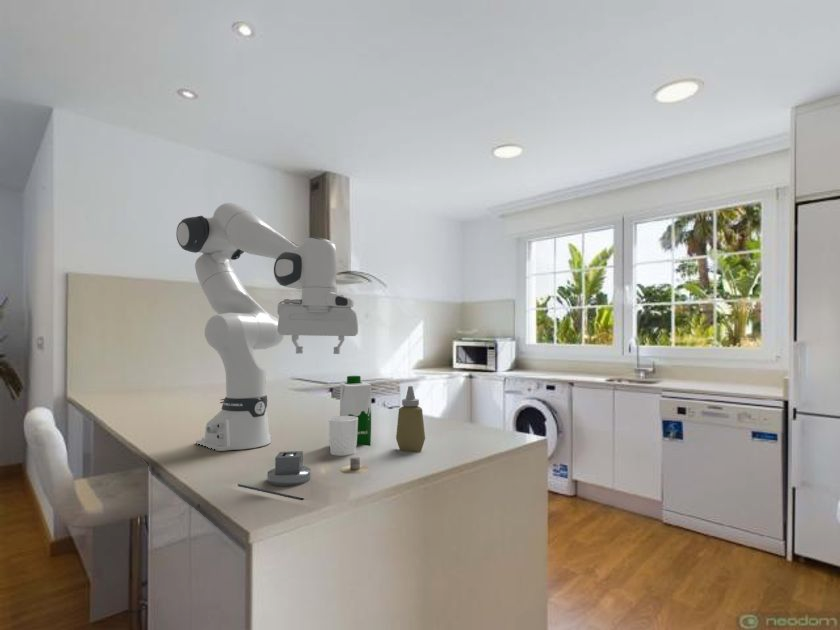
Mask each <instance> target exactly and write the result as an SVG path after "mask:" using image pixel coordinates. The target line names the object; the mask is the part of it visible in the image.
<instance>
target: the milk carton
mask: <svg viewBox="0 0 840 630" xmlns="http://www.w3.org/2000/svg"><path fill="white" fill-rule="evenodd" d="M339 384H340V385H339V386H340V387H339V392H340V393H339V416H355V417H358V432H357V445H356V446H360V445H362V446H368V447H371V445H372V444H371V442H372V441H371V440H372V389H373V388H372V384H370V383H369V382H364V381H361V375H347V376H346V382H341V383H339Z"/></svg>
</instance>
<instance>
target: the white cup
mask: <svg viewBox="0 0 840 630" xmlns="http://www.w3.org/2000/svg"><path fill="white" fill-rule="evenodd" d="M327 421H328V438H329V440H328V441H329V449H330V451H329V452H330V454H331V456H332V455H333V456H351V455H354V454H356V453H357V446H358V445H357V432H358V417H355V416H340V415H337V416H331V417H329V418H328V420H327Z"/></svg>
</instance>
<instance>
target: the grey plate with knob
mask: <svg viewBox="0 0 840 630" xmlns="http://www.w3.org/2000/svg"><path fill="white" fill-rule="evenodd" d="M285 456H294V454H286V455H285ZM311 475H312V474H311V468H310V467H309V466H306V465H303V468H302V470H301V472H300V474H290V475H275V467H274V468H272V469H270V470H269V471H267V474H266V476H267V477H266V479H267V482H266V483H267V484H268V485H269V486H271V487H276V488H279V487H281V488H287V487H295V486H299V485H301V486H302V485H304V484H306V483H308V482H309V481H311ZM237 487H240V488H243V489H249V490H252V491H253V490H254V491H257V492H262V493H267V494H270V495H276V496H280V497H284V498H290V499H292V500H293V499H294V500H299V501H302V500H304V499H305V497H304V498H303V497H299V496H295V495H290V494H286V493H282V492H277V491H276V492H275V491H271V490H267V489H263V488H258V487H253V486H249V485H244V484H239V483H237Z"/></svg>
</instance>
